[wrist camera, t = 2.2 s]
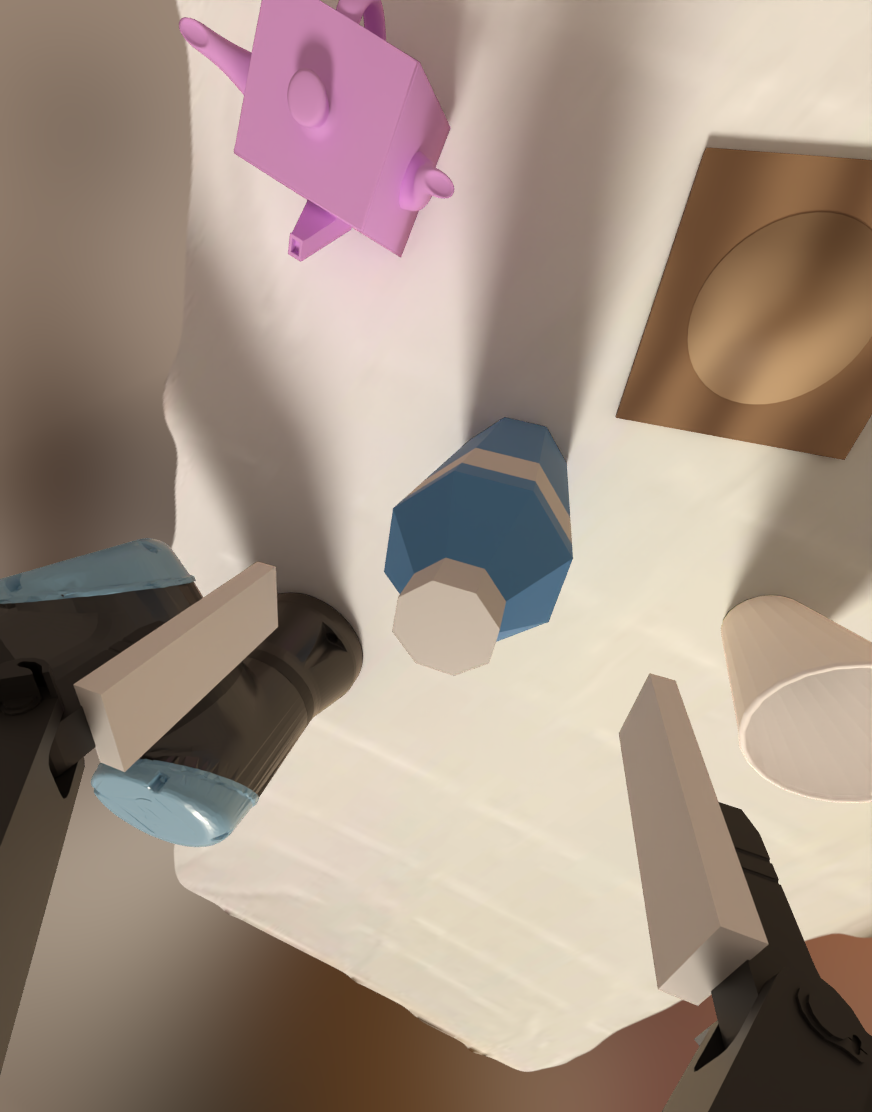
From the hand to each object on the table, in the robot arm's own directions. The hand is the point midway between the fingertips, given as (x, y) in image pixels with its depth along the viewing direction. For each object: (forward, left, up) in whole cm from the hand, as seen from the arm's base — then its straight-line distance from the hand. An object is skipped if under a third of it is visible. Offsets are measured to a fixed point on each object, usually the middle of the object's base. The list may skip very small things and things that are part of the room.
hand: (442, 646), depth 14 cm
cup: (+25, -9, -26) cm, 37 cm away
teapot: (-15, +19, -26) cm, 36 cm away
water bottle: (0, 0, -26) cm, 26 cm away
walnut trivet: (+15, +14, -26) cm, 33 cm away
